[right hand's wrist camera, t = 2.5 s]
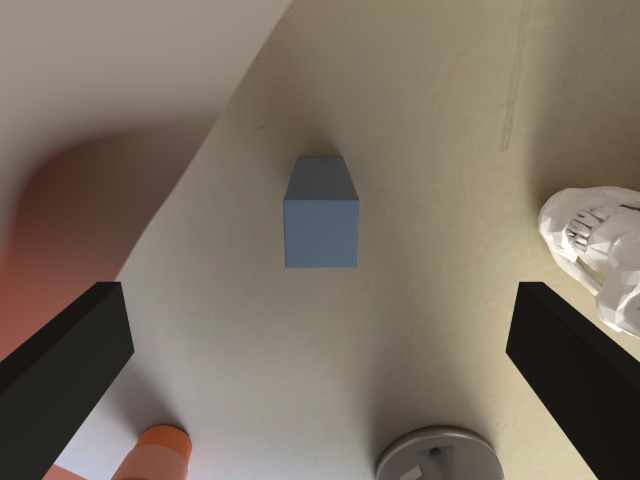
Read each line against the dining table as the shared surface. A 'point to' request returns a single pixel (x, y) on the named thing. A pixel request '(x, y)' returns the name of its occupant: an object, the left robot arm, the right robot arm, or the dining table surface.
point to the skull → (599, 248)
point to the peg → (321, 215)
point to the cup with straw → (157, 456)
